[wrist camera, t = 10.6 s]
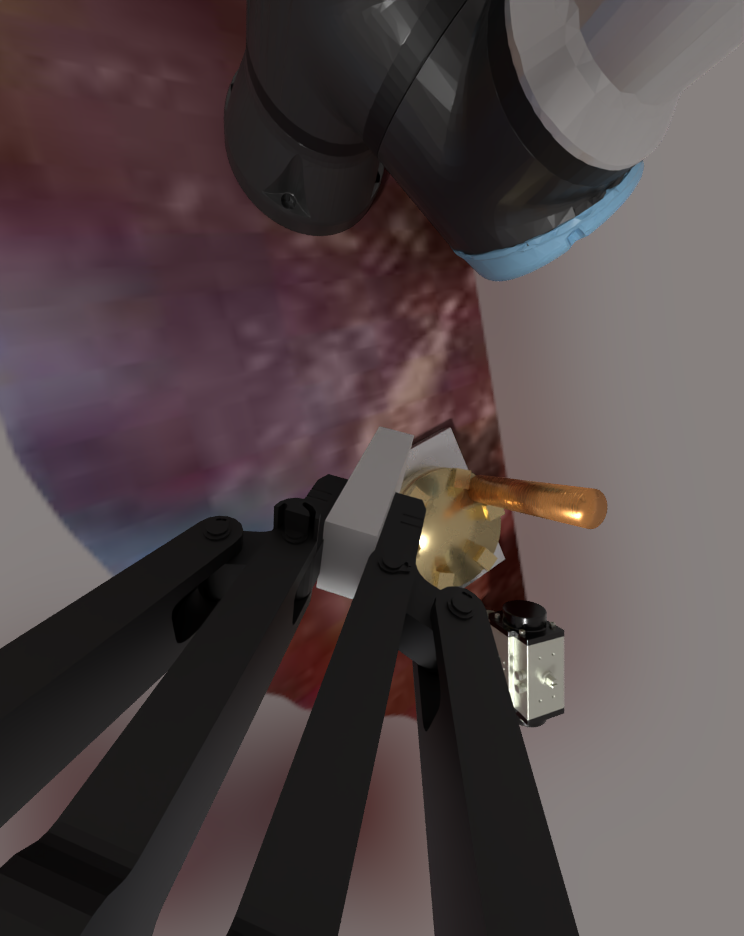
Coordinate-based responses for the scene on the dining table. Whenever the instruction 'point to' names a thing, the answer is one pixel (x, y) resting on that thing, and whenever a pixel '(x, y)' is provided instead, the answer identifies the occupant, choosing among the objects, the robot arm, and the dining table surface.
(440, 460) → the flange plate
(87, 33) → the dining table surface
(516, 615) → the pneumatic valve
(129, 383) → the dining table surface
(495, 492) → the brass lugged disc
